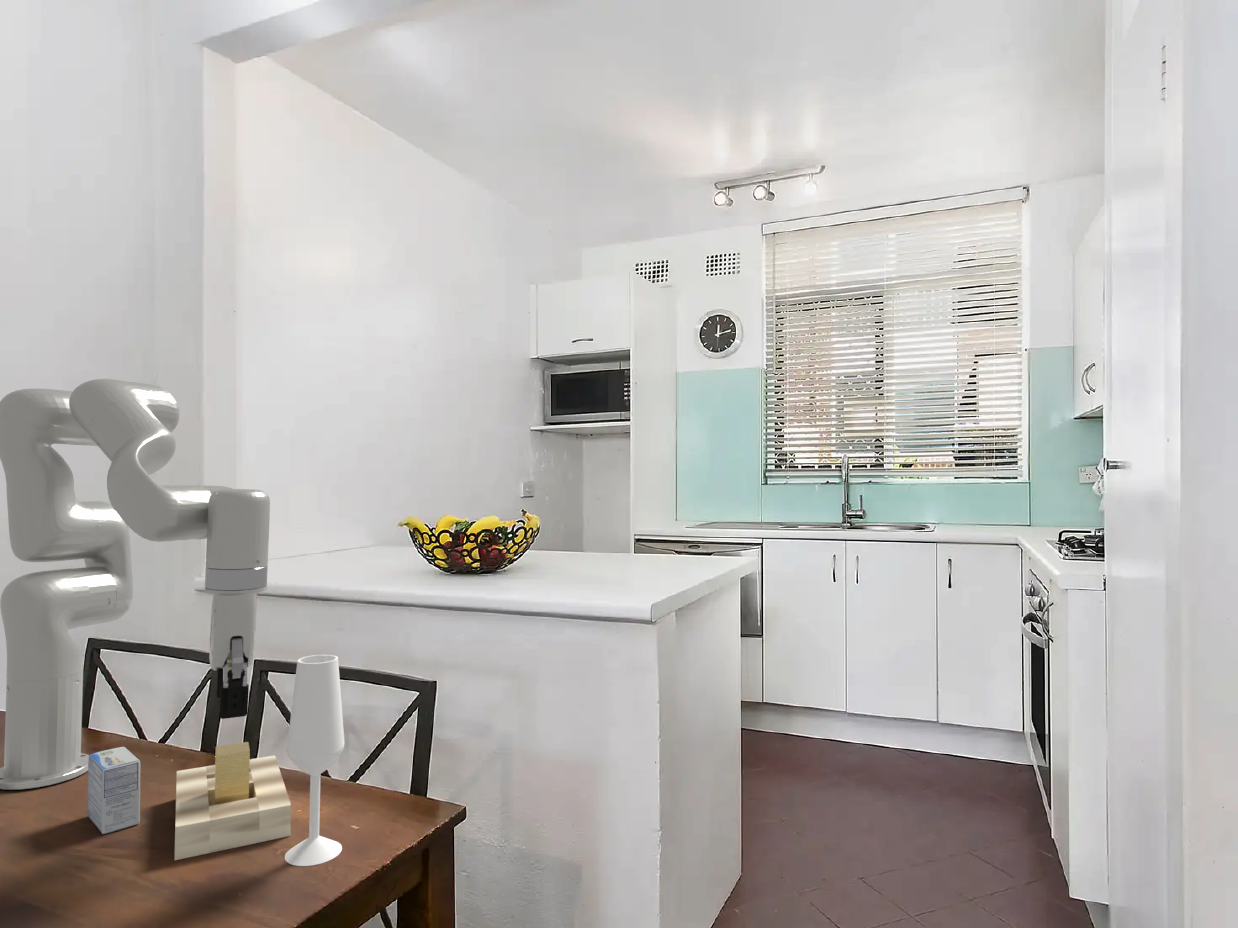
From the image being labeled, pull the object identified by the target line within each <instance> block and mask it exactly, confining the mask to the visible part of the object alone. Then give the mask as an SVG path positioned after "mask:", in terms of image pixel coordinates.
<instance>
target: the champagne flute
mask: <svg viewBox="0 0 1238 928" xmlns="http://www.w3.org/2000/svg"><path fill="white" fill-rule="evenodd" d="M339 667H340V666H339V657H338V656H337V655H334V654H313V655H307V656H303V657H301V658H299V659H297V662H296V669H295V678H294V686H293V694H292V703H291V704H292V705H291V710H290V712H291V713H290V719H289V728H288V736H287V745H286V753H287V756H288V759H290V761H291V762H292V764H294V765H295V767H297V768H298V769H300V770H301V771H302V772H303V773H304V774H307V775H309V776H310V778H309V779H310V780H309V783H310V784H309V818H308V819H309V820H308V821H309V823H308V827H309V828H308V837H307V838H306V839H304V840H302V841H301V842H299V843H298V844H296V845H294V846H293V847H292V848H290V849H288V851H287V852H286V853H285V854H284V861H285V862H286V863H287V864H290V865H292V866H295V867H296V866H297V867H309V866H316V865H321V864H324V863H326V862H329V861H331V860H333V859H335V858H336V857H338V856H339V855H340V854H341V852H342V850H343V847H342V844H341V843H340V842H339V841H336V840H334V839H330V838H328V837H324V836H323V835H320V812H321V811H320V810H321V774H323V773H324V772H326V770H328V769H329V768H330V767H331V766H332V764H334V763H335V762H336V761H337V759H338V758H339V757H340V756H341V754H342V752H343V750H344V748H345V733H344V732H345V731H344V717H343V707H342V706H343V705H342V694H341V693H342V692H341V680H340V678H341V677H340V669H339Z"/></svg>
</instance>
